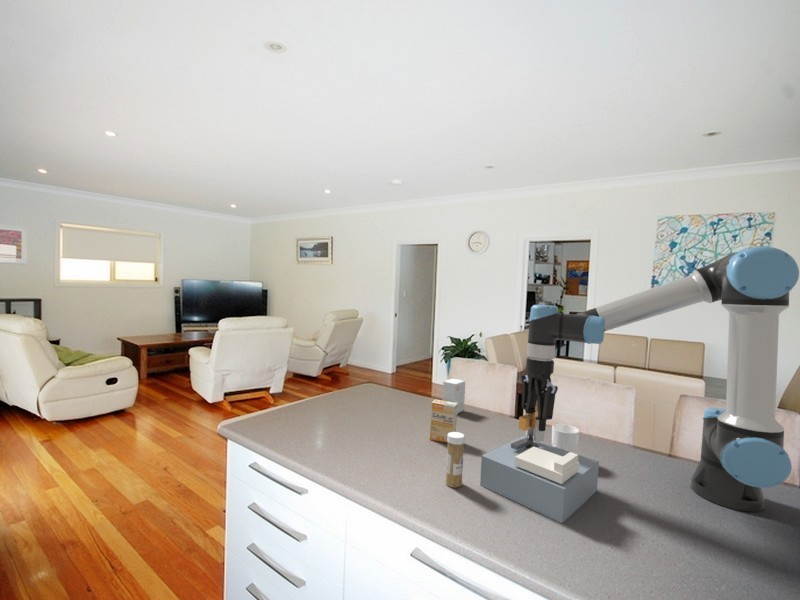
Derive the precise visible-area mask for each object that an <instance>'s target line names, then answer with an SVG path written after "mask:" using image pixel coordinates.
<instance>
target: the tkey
mask: <svg viewBox="0 0 800 600" xmlns="http://www.w3.org/2000/svg"><path fill="white" fill-rule="evenodd" d="M536 417H538V411H537V412H534V413H530V414H527V415H526V414H525V415H521V416H519V418H518V429H520V430H522V431H525V432H526V430H528V436H525V437H526V438H524V439H521V440H519V441H516V442H513V443H511V448H513V449H515V450H519V449H521V448H524V447H526V446H529V445H531V444H533V440H534V436H533V429H534V427H535V421H536Z"/></svg>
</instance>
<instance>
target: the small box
mask: <svg viewBox="0 0 800 600" xmlns="http://www.w3.org/2000/svg"><path fill="white" fill-rule="evenodd" d="M442 384H443V385H442V401H448V402H454V403H458V408H457V415H458V414H459V413H461V412H465V398H466V397H465V396H466V395H465V394H466V380H462V379H458V378H450V379H447V380H444V381H443V383H442Z"/></svg>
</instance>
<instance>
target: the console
mask: <svg viewBox="0 0 800 600" xmlns="http://www.w3.org/2000/svg"><path fill="white" fill-rule="evenodd" d="M526 437H527V436H524V435H522V436H520V437H517V438H515V439H513V440H511V441H509V442H507V443H505V444H503V445H501V446H499V447H497V448H495V449H493V450H491V451H489V452H486V453H484V454H483V455H481V462H480V480H479V482H480V484H479V485H480V486H481V487H483V488H486V489H487V490H489V491H491V492H494V493H496V494H498V495H500V496H502V497H504V498H506V499H509V500H511V501H513V502H515V503H517V504H520V505H521V506H524V507H525V508H529V509H530V510H532V511H534V512H536V513H539V514H541V515H543V516H545V517H547V518H549V519H551V520H554V522H555V521H556V522H557V523H559V524H564V523H565V522H566V520H568V518H570V517H571V516H572V515H573V514H574V513H575V512H576V511H577V510H578V509H579V508H580V507H581V506H583V505H584V504H585V503H586V502H587V501H588V500H589V499H590V498H591V497H592V496H593V495H595V493H596V492H598V480H599V464H600V461H599V460H597V459H592V458H590V457H587V456H583V455H581V454H578V462H579V471H578V472H577V473H576V474H574V475H573V476H572V477H570V478H569V479H568V480H567V481H565V482H564V483H563V484H560V483H557V482H555V481H552V480H550V479H547V478H545V477H542V476H540V475H537V474H535V473H532V472H530V471H527V470H525V469H522V468H520V467H517V466H515V465H514V463H515V456H517V455H519V454H521V453H523V452H525V451H526V450H528V449H530V448H532V447H537V448H539V449H542V450H545V451H548V452H551V453H554V454H557V455H560V456H565V455H566V454H568V453H569V451H566V450H563V449H560V448H557V447H554V446H552V444H551V445H550V444H547V443H545V442H543V441H540V442H535V441H534V439H533V444H531V445H529V446H526V447H524V448H521V449H519V450H515V449H513V448H511V443H513V442H516V441H519V440H521V439H524V438H526Z"/></svg>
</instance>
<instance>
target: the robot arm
mask: <svg viewBox="0 0 800 600" xmlns="http://www.w3.org/2000/svg"><path fill="white" fill-rule="evenodd" d="M799 277H800V269H799V266H798V263H797V261H796V260H795V259H794V258H793V256H791V255H790V254H789V253H788V252H785V251H784V250H782V249H780V248H778V247H777V248H776V247H772V246H754V247H751V246H750V247H746V248H743V249H741V250H739V251H737V252H732V253H729V254H727V255H726V256H724V257H721V258H719V259H718V260H716V261H714V262H711V263H709V264H707V265H705V266H703V267H700V268H696V269H694V270H693V271H692V272H691V274H690V275H687V276H685V277H682V278H679V279H676V280H673V281H670V282H667V283H665V284H662V285H659V286H656V287H652V288H649V289H647V290H644V291H641V292H639V293H635V294H631V295H629V296H626V297H623V298H620V299H617V300H615V301H611V302H609V303H608V302H607V303H605V304H603V305H600V306H599V305H598V306H596V307H594V308H591V309H587V310H586V311H581V312H577V313H576V314H572V313H571V314H570V313H561V312H559V307H558V306H556V305H547V304H533V305H532V306H531V307H530V314H529V319H528V321H529V323H528V334H527V335H528V338H527V346H526V347H527V349H526V356H527V358H526V363H525V370H526V371H527V374H526V375H521V377H520V379H521V383H522V384H521V408H522V409H523V410H525V413H526V414H525V415H527V414H530V413H534V412H538V417H536V421H535V427H534V429H533V440H534V441H535V442H544V441H545V440H544V439H545V431H546V426H547V420H548V421H549V420H552V419H553V416H554V410H555V409H554V407H555V401H556V394H557V391H558V389H559V388H558V386H557V385H553V384H552V379H551V375H552V374H554V369H555V367H554V366H555V361H554V359H555V353H556V342H557V341H558V340H559V341H569V342H575V343H584V344H588V345H590V344H593V345H594V344H595V345H600V344H602V343H604V339H605V338H604V337H605V332H607V331H610V330H614V329H617V328H620V327H623V326H627V325H630V324H633V323H637V322H640V321H643V320H647V319H650V318H653V317H656V316H659V315H663V314H667V313H669V312H672V311H676V310H679V309H681V308H686V307H688V306H692V305H696V304H699V303H703V302H705V303H709V304H712V303H715V302H717V301H718V302H719V301H721V303H720V305H721V306H722V308H724V309H725V310H726V311H727V312H728V338H727V341H728V343H727V344H728V345H727V368H726V369H727V370H726V371H727V372H726V373H727V375H726V397H725V398H726V400H725V404H726V405H725V408H723V407H722V408H719V407H707V408H705V410H704V412H703V416H702V421H703V423H702V434H701V435H702V438H701V448H700V460H699V463H698V465H697V466H696V468H695V470H694V471H693V474H692V476H691V478H690V488H691V489H692V491H693V492H694V493H696V494H697V495H698V496H700V497H701V498H703V499H705V500H707V501H710V502H712V503H714V504H716V505H719V506H722V507H726V508H729V509H733V510H737V511H744V512H751V513H753V512H760V511H763V510H764V509H765V502H766V499H765V495H764V491H763V489H764V488H766V489H767V488H772V487H776V486H778V485H780V484H783V483H784V482H785V481H786V480H787V479H788V478H789V477H790V475H791V473H792V467H793V466H792V461H791V459H790V457H789V456H790V455H789V454H788V452H787V451H786V450H785V449H784V448H785V447H784V446H785V444H784V443H785V427H784V426H782V425H781V424H780V423H779V421H778V420H776V404H777V402H776V401H777V379H778V378H777V377H778V376H777V375H778V355H779V353H778V350H779V349H778V348H779V327H780V326H779V323H780V321H779V320H780V314H781V313H782V312H784V311H785V310H787V309H788V308H789V307H790V306H789V305H790V292H791V291H792V289H794V287H795V286H796V285H797V283H798V280H799ZM536 405H537V410H536ZM524 435H525V437H528V430H526V431H525V434H524Z"/></svg>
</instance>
